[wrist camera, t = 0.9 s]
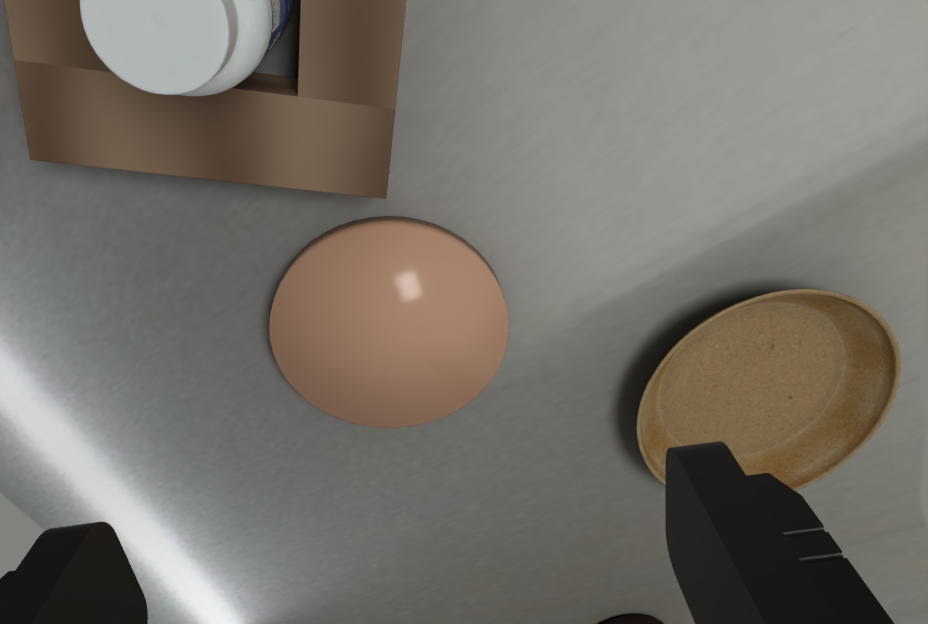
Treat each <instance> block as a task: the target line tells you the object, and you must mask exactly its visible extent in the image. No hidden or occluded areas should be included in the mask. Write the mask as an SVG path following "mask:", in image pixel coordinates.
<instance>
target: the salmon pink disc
mask: <svg viewBox="0 0 928 624" xmlns="http://www.w3.org/2000/svg"><path fill="white" fill-rule="evenodd" d="M269 330H270V341H271V346H272V350H273V354H274V356H275V359H276V362H277V364H278V366H279V368H280V370H281V371H282V373H283V375H284V377H285V378H286V379H287V381H288V382H289V383H290V385H291V386H292V387H293V388H294V389H295V390H296V391H297V392H298V393H299V394H300V395H301V396H302V397H303V398H304V399H306V400H307V401H308V402H309V403H311V404H312V405H313V406H315V407H317V408H318V409H320V410H322V411H323V412H325V413H327V414H329V415H331V416H333V417H336V418H338V419H341V420H344V421H347V422H350V423H353V424H358V425H362V426H368V427H377V428H401V427H410V426H415V425H420V424H425V423H428V422H431V421H434V420H437V419H440V418H442V417H444V416H447V415H449V414H451V413H453V412H455V411H456V410H458V409H460V408H462V407H463V406H464V405H466V404H467V403H468V402H470V401H471V400H473V399H474V398H475V397H476V396H477V395H478V394H479V393H480V392H481V391H482V390H483V389H484V388H485V387H486V386H487V384H488V383H489V382H490V381H491V379H492V378H493V376H494V375H495V373H496V372H497V370H498V368H499V366H500V364H501V362H502V359H503V357H504V354H505V350H506V347H507V342H508V334H509V319H508V313H507V307H506V303H505V300H504V296H503V293H502V290H501V287H500V284H499V281H498V279H497V277H496V275H495V273H494V271H493V270H492V268H491V267H490V265H489V264H488V263H487V261H486V260H485V258H484V257H483V256H482V255H481V254H480V253H479V252H478V251H477V250H476V249H475V248H474V247H473V246H472V245H470V244H469V243H468V242H467V241H465V240H464V239H463V238H461V237H459V236H458V235H456V234H454V233H453V232H451V231H449V230H447V229H445V228H443V227H440V226H438V225H436V224H433V223H429V222H426V221H423V220H419V219H413V218H407V217H393V216H384V217H371V218H366V219H361V220H356V221H352V222H349V223H346V224H343V225H340V226H338V227H336V228H334V229H332V230H329V231H327V232H325V233H324V234H322V235H321V236H319V237H318V238H316V239H315V240H313V241H312V242H310V243H309V244H308V245H307V246H306V247H305V248H304V249H302V250H301V251H300V252H299V253H298V255H297V256H296V257H295V258H294V259H293V260H292V262H291V263H290V264H289V266H288V268H287V269H286V271H285V272H284V274H283V276H282V278H281V280H280V283H279V285H278V287H277V291H276V294H275V298H274V301H273V305H272V309H271V313H270V323H269Z"/></svg>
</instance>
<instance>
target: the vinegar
mask: <svg viewBox="0 0 928 624" xmlns="http://www.w3.org/2000/svg"><path fill="white" fill-rule="evenodd" d="M601 624H663V622H661V621H659V620H657V619H655V618H653V617H650V616H645V615H639V614H638V615H624V616H619V617H615V618H612V619H610V620H607V621H605V622H603V623H601Z"/></svg>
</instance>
